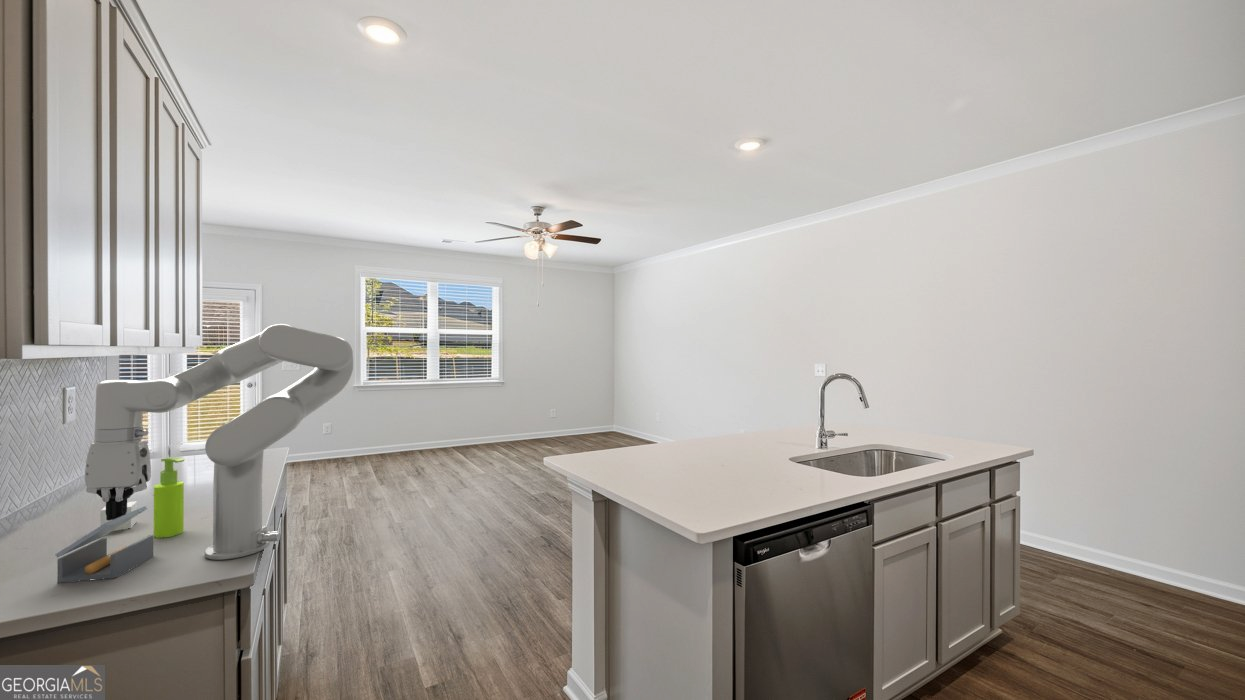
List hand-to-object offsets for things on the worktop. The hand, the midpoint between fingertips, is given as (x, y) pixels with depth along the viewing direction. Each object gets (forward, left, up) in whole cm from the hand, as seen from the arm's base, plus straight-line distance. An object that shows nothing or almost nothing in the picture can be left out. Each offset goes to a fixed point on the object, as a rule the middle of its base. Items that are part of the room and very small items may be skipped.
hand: (116, 518), depth 113 cm
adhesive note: (+19, -31, -12) cm, 38 cm away
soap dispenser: (+2, -22, -11) cm, 25 cm away
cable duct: (+2, 0, -11) cm, 11 cm away
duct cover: (+2, 0, -3) cm, 4 cm away
